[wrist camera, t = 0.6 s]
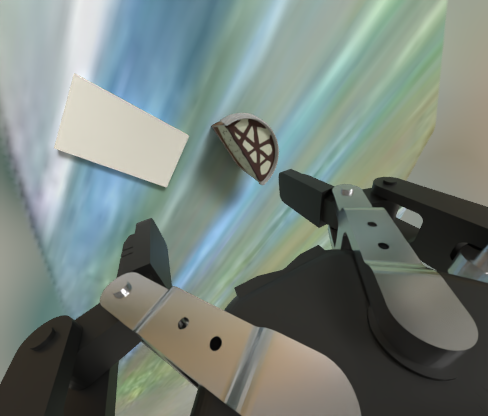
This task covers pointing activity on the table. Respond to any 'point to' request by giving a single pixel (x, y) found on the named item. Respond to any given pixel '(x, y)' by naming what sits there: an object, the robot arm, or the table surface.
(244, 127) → the brown lattice half cylinder
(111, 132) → the board
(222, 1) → the table surface
